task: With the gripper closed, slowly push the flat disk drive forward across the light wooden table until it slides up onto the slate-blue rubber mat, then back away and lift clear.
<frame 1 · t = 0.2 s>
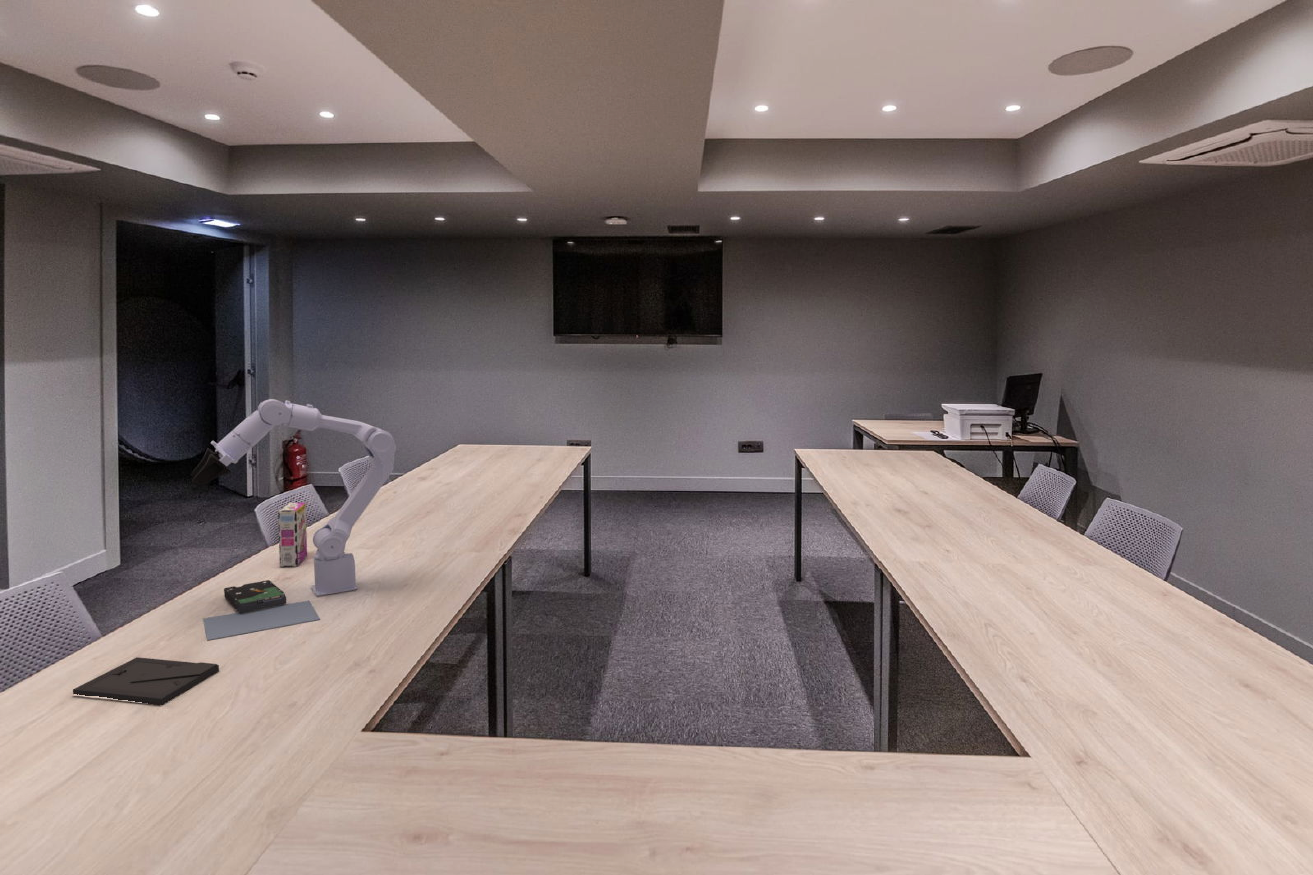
hand: (195, 481, 162), 31 cm above the table, tool tilted 45°, fingers open, 7 cm apart
mat: (262, 619, 161), on the table
candy bar box: (294, 562, 204), on the table
picture frame: (149, 687, 131), on the table
disk drive: (255, 602, 172), on the table, touching mat
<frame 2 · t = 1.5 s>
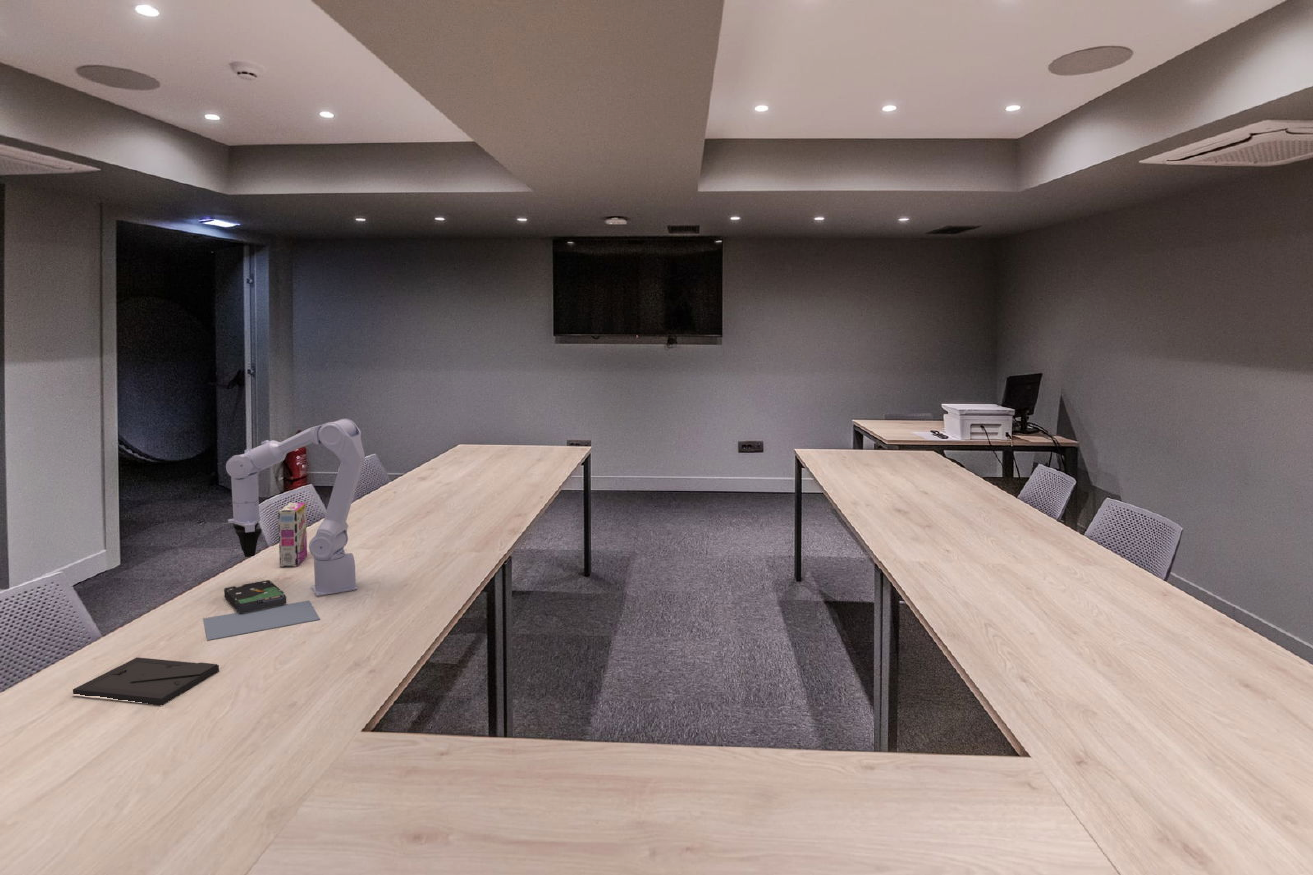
hand: (248, 553, 180), 9 cm above the table, tool pointing down, fingers open, 5 cm apart
nothing on the table moved.
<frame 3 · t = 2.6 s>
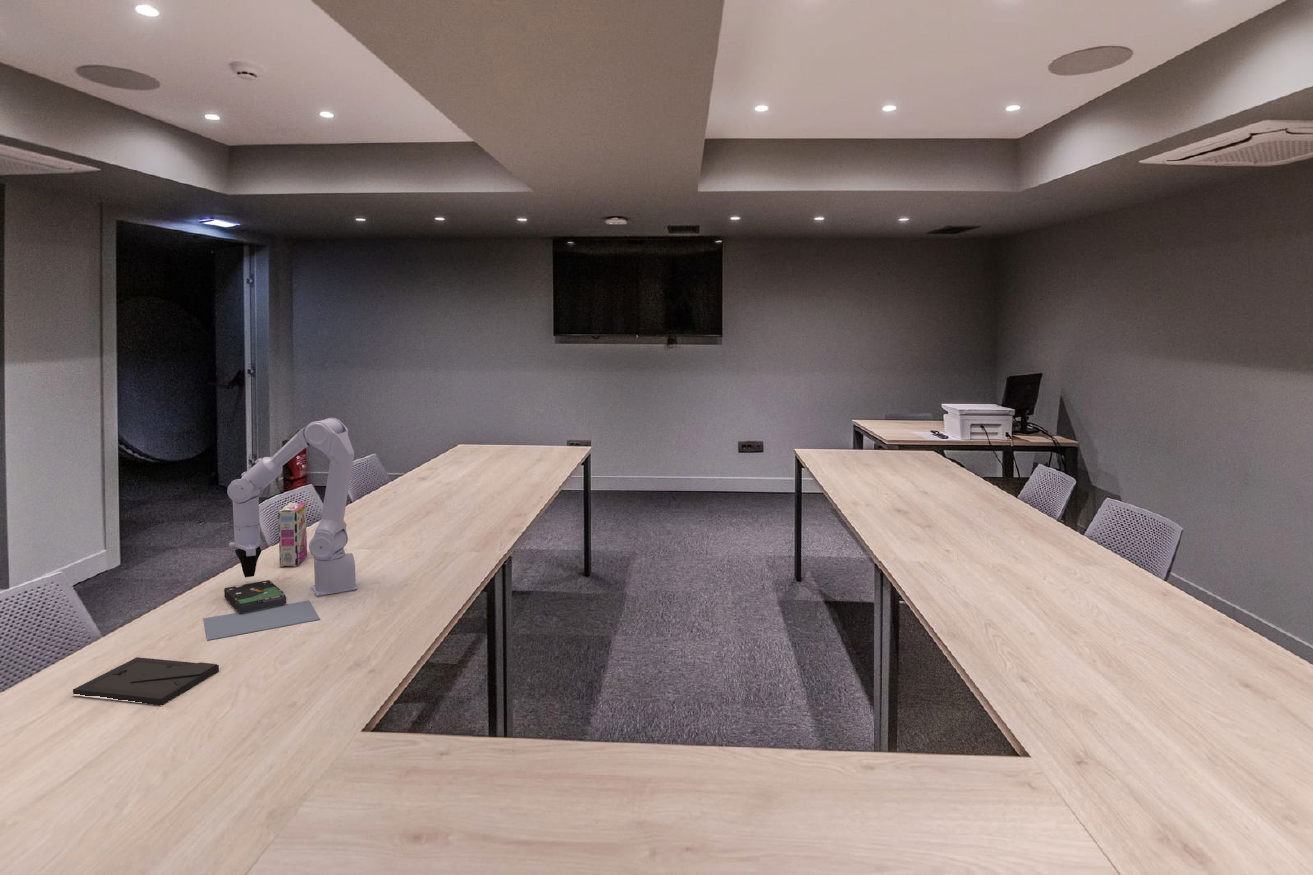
hand: (249, 576, 180), 3 cm above the table, tool pointing down, fingers closed
nothing on the table moved.
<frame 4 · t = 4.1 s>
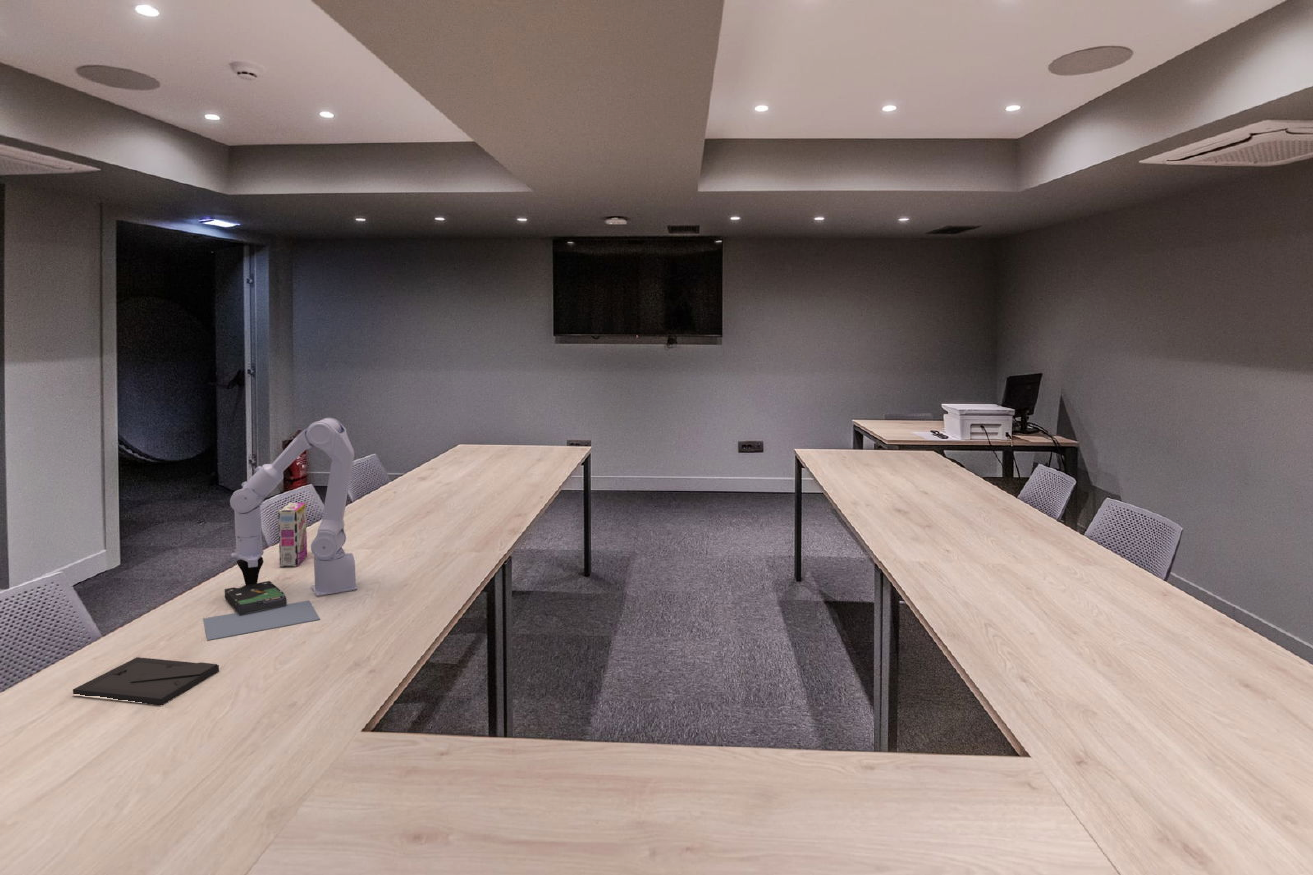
hand: (251, 587, 178), 1 cm above the table, tool pointing down, fingers closed
disk drive: (255, 603, 171), on the table, touching gripper, mat
everything else where it was.
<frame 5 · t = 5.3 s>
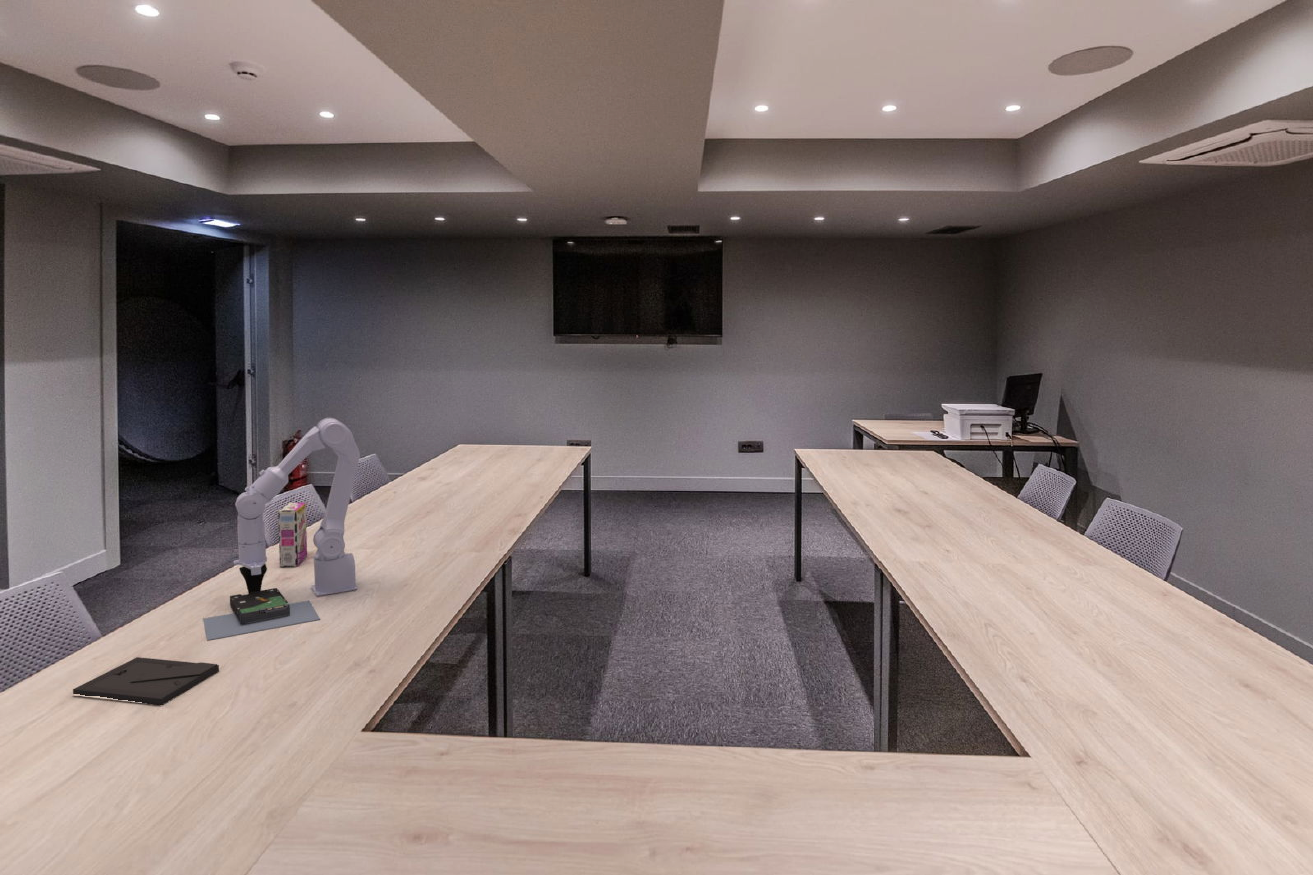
hand: (254, 595, 172), 1 cm above the table, tool pointing down, fingers closed
disk drive: (259, 611, 166), on the table, touching gripper, mat
everything else where it was.
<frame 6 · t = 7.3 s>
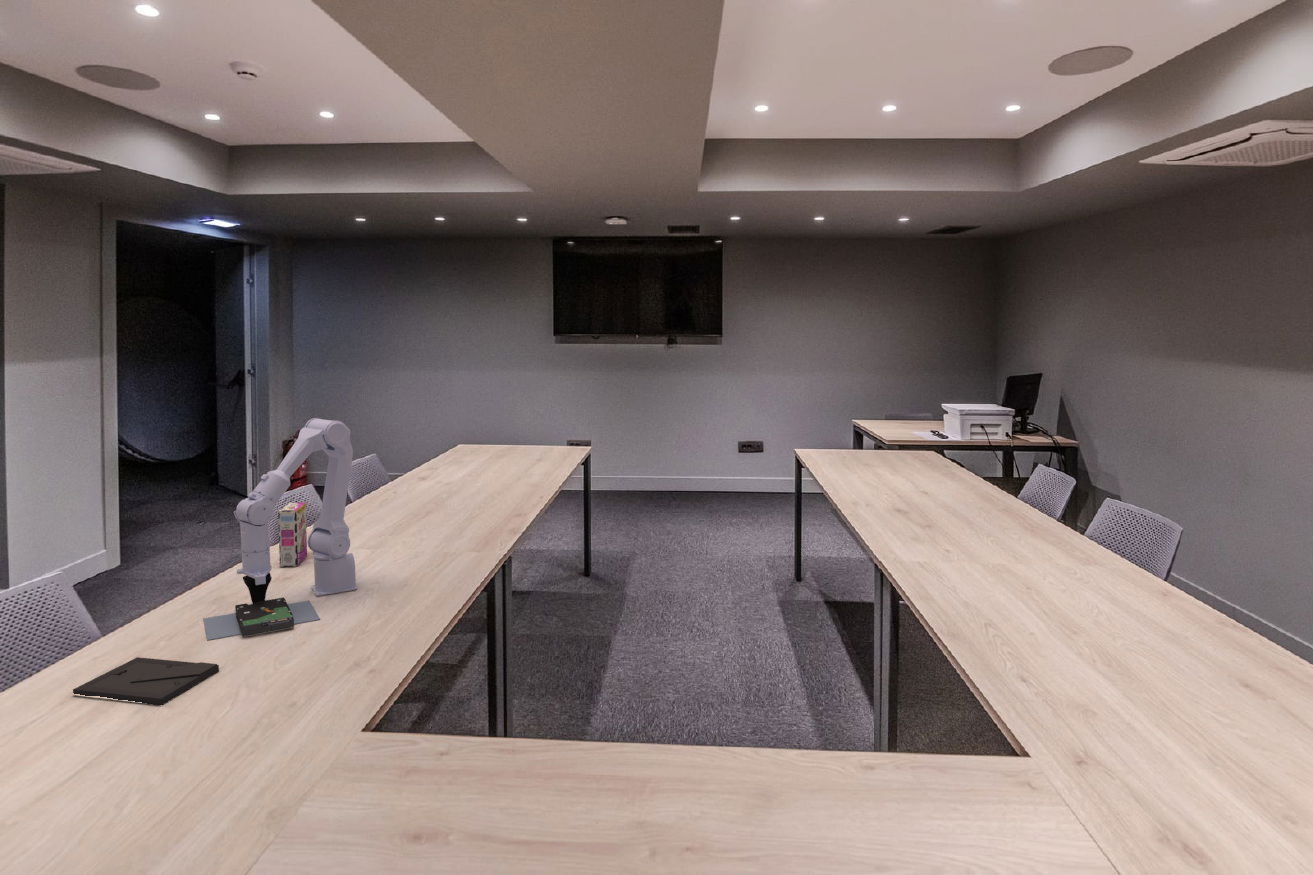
hand: (258, 605, 166), 1 cm above the table, tool pointing down, fingers closed
disk drive: (264, 622, 160), resting on mat, touching gripper
everything else where it was.
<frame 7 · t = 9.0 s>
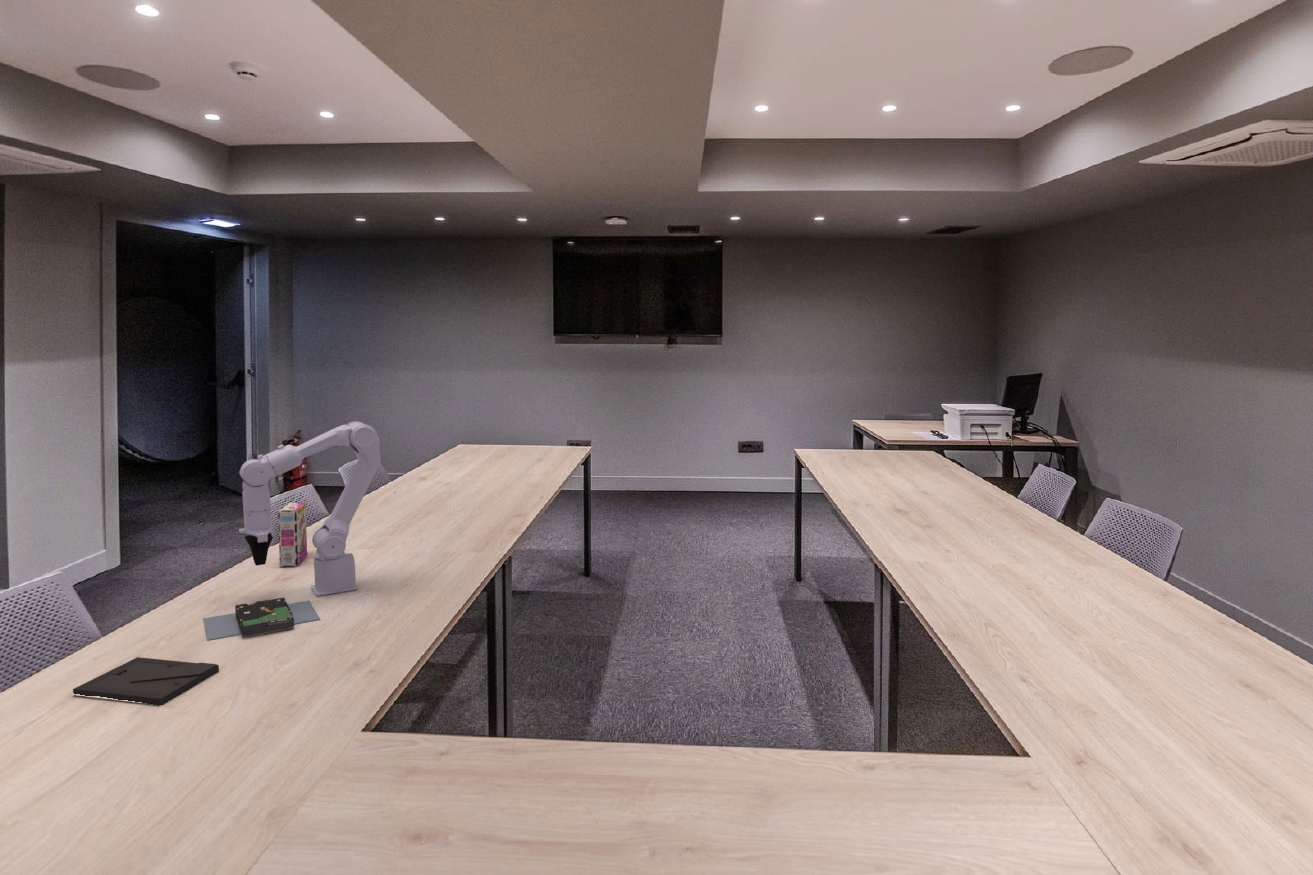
hand: (260, 564, 171), 9 cm above the table, tool pointing down, fingers closed
disk drive: (264, 622, 160), resting on mat
everything else where it was.
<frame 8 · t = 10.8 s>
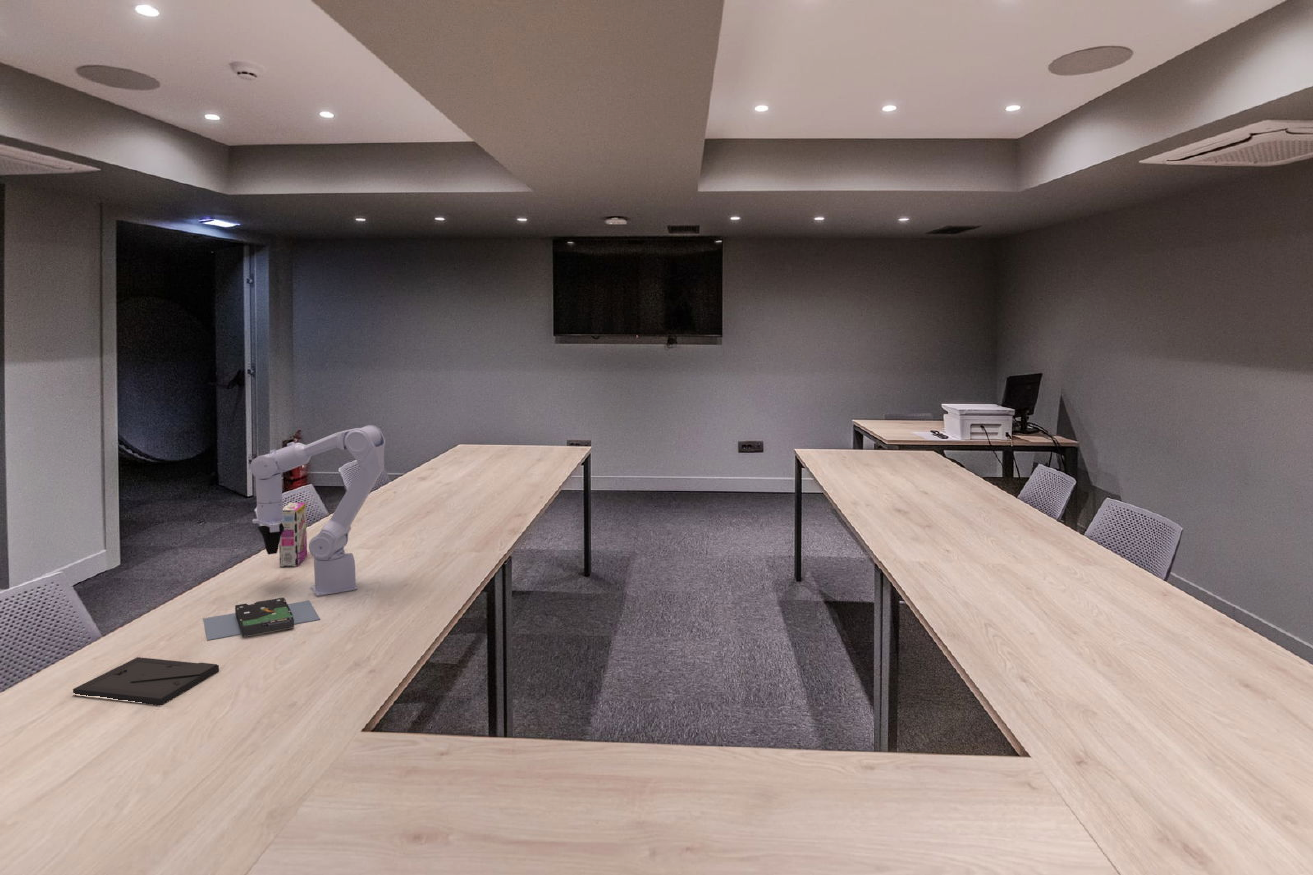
hand: (272, 553, 180), 9 cm above the table, tool pointing down, fingers closed
nothing on the table moved.
at the end: disk drive inside the target area (1.9 cm from its centre), resting on mat; disk drive tilted 0° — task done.
